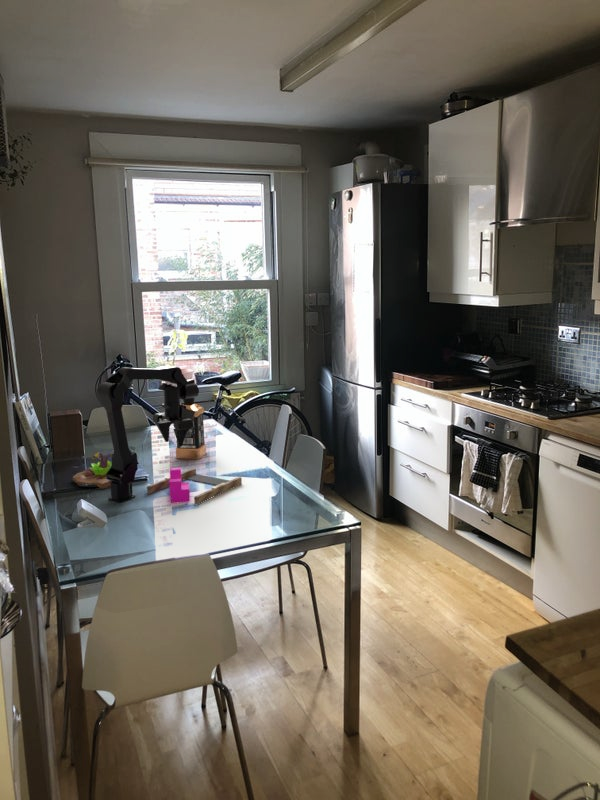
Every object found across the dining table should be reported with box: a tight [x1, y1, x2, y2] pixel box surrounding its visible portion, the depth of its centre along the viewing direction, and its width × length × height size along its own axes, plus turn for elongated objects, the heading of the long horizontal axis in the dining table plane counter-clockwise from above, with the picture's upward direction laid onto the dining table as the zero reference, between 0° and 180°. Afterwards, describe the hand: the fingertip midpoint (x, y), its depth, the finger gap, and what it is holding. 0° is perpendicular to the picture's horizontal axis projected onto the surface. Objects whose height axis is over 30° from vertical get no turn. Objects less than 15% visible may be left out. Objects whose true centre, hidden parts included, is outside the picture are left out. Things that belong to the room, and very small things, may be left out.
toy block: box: [169, 467, 191, 504], centre depth 220 cm, size 15×6×8 cm, turn 11°
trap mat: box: [185, 473, 230, 486], centre depth 234 cm, size 6×19×1 cm, turn 58°
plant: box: [72, 451, 122, 490], centre depth 237 cm, size 20×20×11 cm
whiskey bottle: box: [175, 378, 207, 460], centre depth 264 cm, size 10×10×32 cm
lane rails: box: [146, 467, 243, 505], centre depth 226 cm, size 24×23×3 cm
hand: (173, 444), depth 232 cm, fingers open, 9 cm apart
